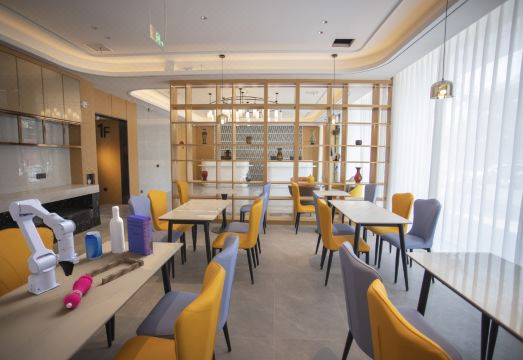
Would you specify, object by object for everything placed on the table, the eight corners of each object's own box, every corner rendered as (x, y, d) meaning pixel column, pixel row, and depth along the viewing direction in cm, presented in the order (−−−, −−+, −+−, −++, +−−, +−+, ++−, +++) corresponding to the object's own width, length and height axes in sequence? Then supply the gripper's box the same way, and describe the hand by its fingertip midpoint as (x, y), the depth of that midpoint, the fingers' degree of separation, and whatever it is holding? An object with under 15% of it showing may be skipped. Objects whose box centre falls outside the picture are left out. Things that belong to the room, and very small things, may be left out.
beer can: (105, 255, 161) (103, 230, 160) (95, 260, 153) (93, 235, 151) (93, 254, 162) (91, 230, 160) (83, 260, 154) (80, 234, 152)
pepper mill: (87, 290, 123) (70, 317, 104) (73, 283, 121) (53, 310, 102) (97, 278, 124) (82, 303, 105) (83, 271, 121) (65, 295, 102)
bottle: (114, 254, 162) (111, 208, 159) (109, 251, 167) (106, 207, 164) (127, 250, 169) (124, 206, 165) (121, 247, 173) (119, 204, 170)
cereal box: (153, 253, 164) (151, 217, 162) (146, 255, 160) (144, 219, 157) (135, 248, 172) (133, 214, 169) (128, 251, 168) (126, 215, 165)
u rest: (104, 283, 126) (104, 279, 126) (86, 277, 133) (85, 273, 132) (143, 264, 148) (143, 260, 147) (126, 260, 154) (126, 256, 153)
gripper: (85, 246, 117) (87, 274, 119) (66, 242, 123) (69, 268, 125) (68, 252, 111) (70, 281, 112) (49, 247, 117) (52, 274, 118)
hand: (68, 275), depth 118 cm, fingers closed
